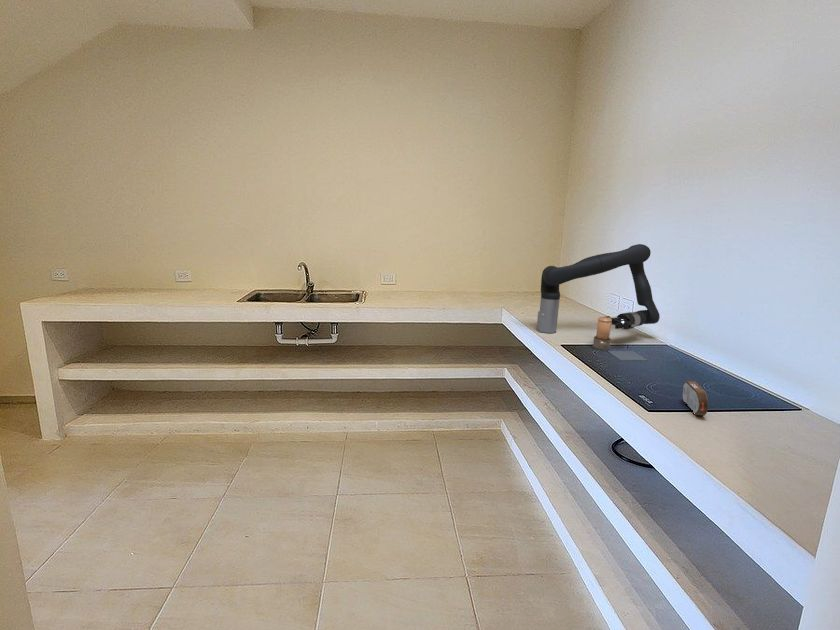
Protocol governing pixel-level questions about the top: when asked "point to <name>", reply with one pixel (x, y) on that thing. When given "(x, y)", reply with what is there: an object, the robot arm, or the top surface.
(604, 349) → the canister
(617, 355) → the mat
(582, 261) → the robot arm
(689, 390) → the tin
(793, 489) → the top surface
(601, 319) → the tan cylinder
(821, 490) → the top surface
